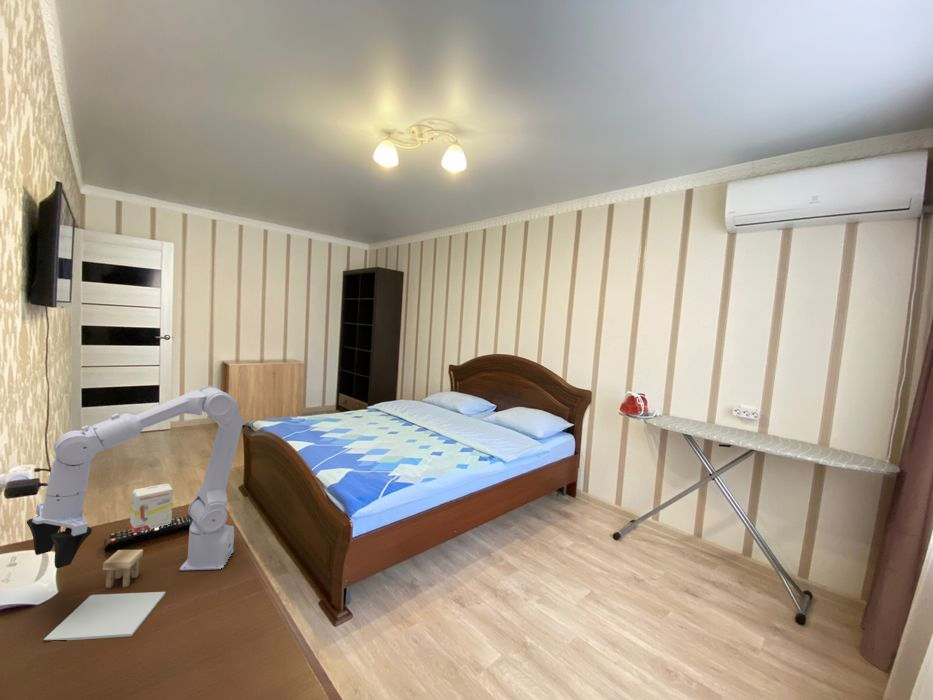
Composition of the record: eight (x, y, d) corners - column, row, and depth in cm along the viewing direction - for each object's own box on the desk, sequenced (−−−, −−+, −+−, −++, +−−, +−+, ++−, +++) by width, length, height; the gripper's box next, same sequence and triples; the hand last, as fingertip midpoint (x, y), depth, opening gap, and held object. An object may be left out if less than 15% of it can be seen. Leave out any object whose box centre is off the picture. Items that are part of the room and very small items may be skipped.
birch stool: (141, 574, 92) (143, 549, 92) (128, 588, 87) (129, 562, 87) (116, 575, 91) (118, 550, 90) (101, 589, 86) (103, 563, 86)
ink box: (133, 538, 105) (135, 496, 104) (128, 531, 108) (131, 490, 108) (171, 528, 112) (174, 488, 111) (166, 521, 115) (169, 482, 114)
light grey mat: (165, 593, 86) (165, 591, 86) (131, 636, 75) (131, 633, 75) (90, 597, 83) (91, 595, 83) (43, 642, 72) (43, 639, 72)
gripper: (20, 486, 78) (6, 554, 77) (59, 507, 72) (44, 581, 72) (67, 478, 84) (54, 541, 84) (105, 497, 79) (92, 565, 78)
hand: (52, 559), depth 78 cm, fingers open, 7 cm apart
